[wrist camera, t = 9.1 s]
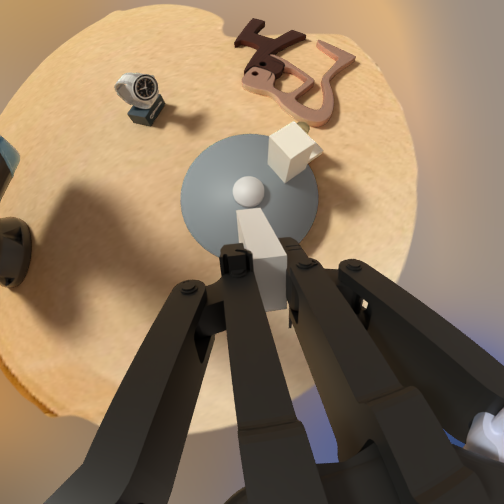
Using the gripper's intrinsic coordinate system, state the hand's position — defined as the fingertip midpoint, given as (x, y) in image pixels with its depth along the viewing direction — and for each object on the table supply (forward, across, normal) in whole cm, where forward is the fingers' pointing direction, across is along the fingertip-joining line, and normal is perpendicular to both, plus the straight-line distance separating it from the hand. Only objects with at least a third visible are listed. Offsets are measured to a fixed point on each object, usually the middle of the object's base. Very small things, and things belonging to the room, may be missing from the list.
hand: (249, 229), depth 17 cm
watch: (+37, -14, +11) cm, 41 cm away
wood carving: (+40, +13, +19) cm, 46 cm away
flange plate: (+23, +4, -3) cm, 24 cm away
